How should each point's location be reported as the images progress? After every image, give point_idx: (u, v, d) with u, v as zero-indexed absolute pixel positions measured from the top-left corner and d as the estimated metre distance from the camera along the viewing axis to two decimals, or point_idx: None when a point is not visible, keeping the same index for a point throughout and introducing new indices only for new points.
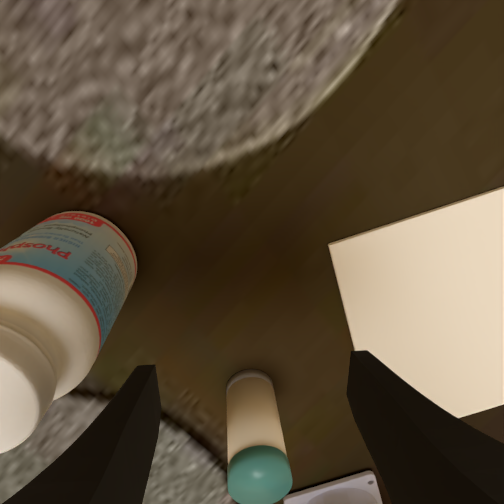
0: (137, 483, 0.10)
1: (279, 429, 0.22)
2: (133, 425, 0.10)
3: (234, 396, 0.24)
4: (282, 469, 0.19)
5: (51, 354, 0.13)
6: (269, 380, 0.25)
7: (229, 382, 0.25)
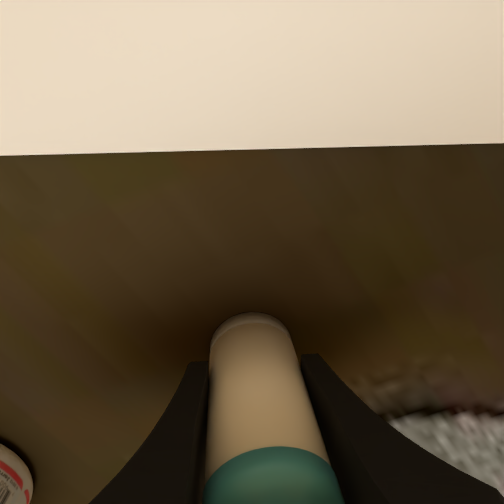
0: (201, 477, 0.10)
1: (248, 398, 0.10)
2: (199, 419, 0.10)
3: None
4: (248, 499, 0.08)
5: None
6: (238, 320, 0.14)
7: None
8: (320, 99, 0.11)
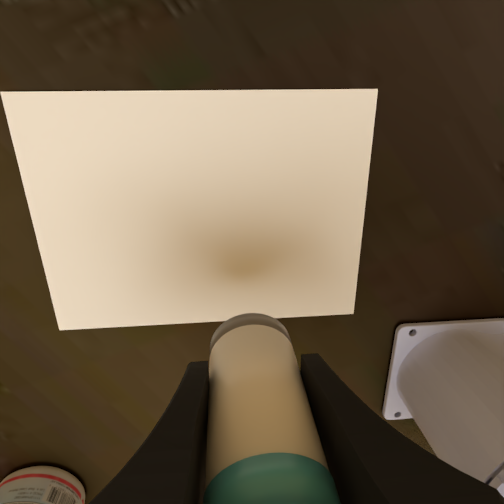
0: (201, 477, 0.10)
1: (250, 402, 0.10)
2: (199, 420, 0.10)
3: None
4: None
5: None
6: (239, 321, 0.14)
7: None
8: (247, 298, 0.22)
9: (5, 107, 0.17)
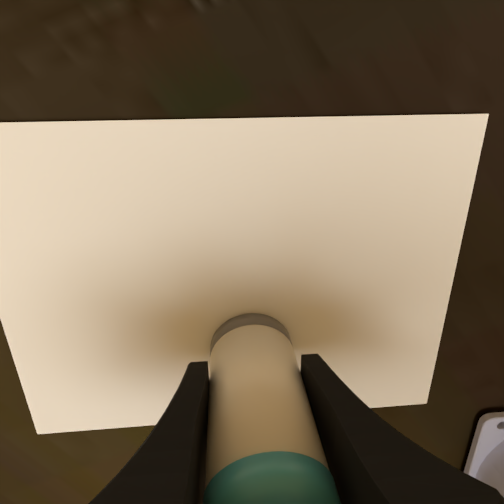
0: (201, 477, 0.10)
1: (250, 401, 0.10)
2: (199, 420, 0.10)
3: None
4: (249, 503, 0.08)
5: None
6: (239, 321, 0.14)
7: None
8: None
9: None
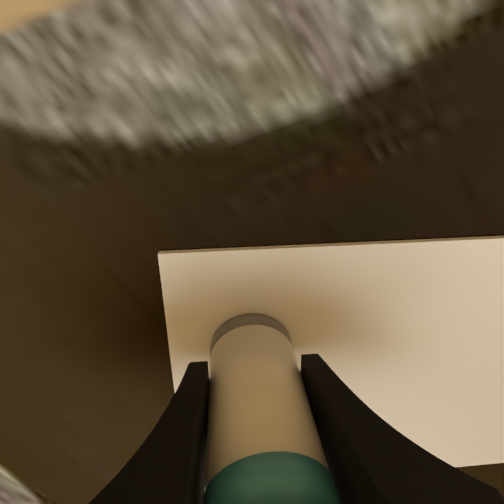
0: (201, 477, 0.10)
1: (250, 402, 0.10)
2: (199, 420, 0.10)
3: None
4: (249, 503, 0.08)
5: None
6: (239, 321, 0.14)
7: None
8: None
9: (161, 270, 0.14)
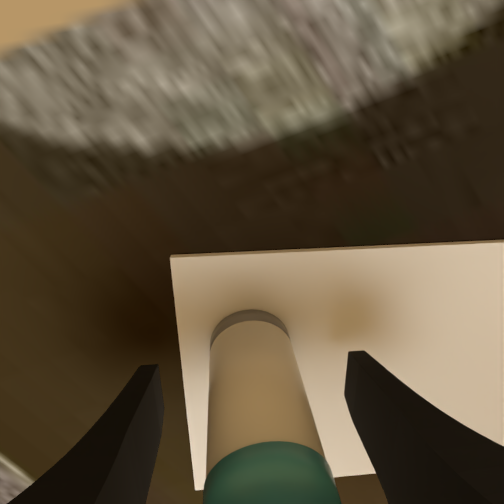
0: (141, 483, 0.10)
1: (249, 394, 0.10)
2: (136, 425, 0.10)
3: None
4: (249, 490, 0.08)
5: None
6: (238, 317, 0.14)
7: None
8: None
9: (172, 273, 0.14)
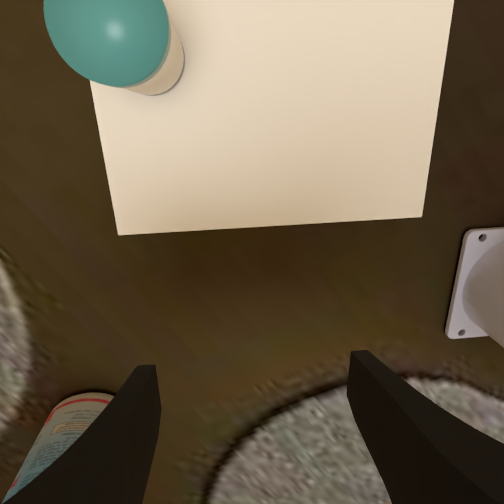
0: (137, 483, 0.10)
1: None
2: (133, 425, 0.10)
3: None
4: None
5: None
6: None
7: None
8: (313, 199, 0.21)
9: None
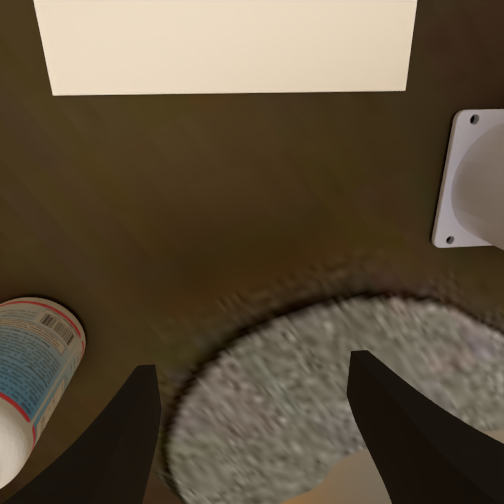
0: (137, 483, 0.10)
1: None
2: (133, 425, 0.10)
3: None
4: None
5: None
6: None
7: None
8: (280, 60, 0.18)
9: None
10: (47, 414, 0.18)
